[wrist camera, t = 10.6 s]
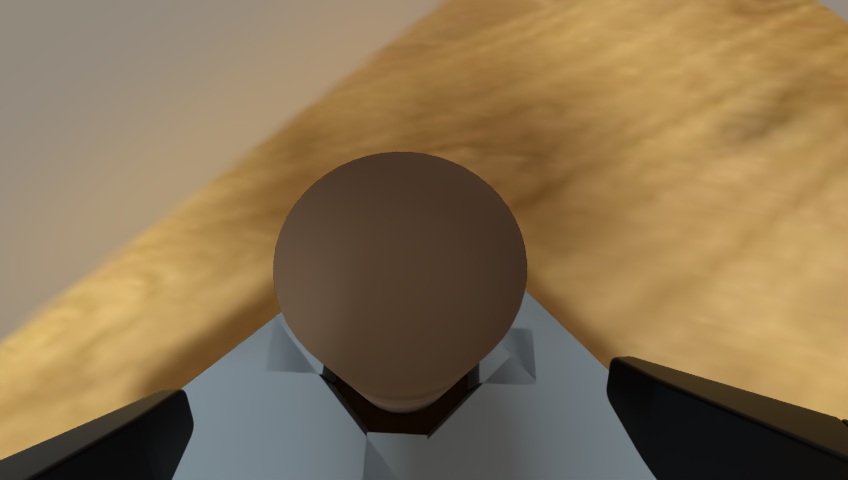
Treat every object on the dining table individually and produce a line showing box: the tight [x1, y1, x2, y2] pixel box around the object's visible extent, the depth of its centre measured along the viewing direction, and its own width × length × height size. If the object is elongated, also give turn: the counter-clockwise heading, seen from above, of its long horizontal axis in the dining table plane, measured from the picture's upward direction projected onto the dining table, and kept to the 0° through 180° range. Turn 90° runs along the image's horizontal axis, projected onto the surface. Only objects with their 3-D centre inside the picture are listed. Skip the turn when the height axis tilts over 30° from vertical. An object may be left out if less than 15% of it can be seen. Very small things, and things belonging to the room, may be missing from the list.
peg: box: [273, 152, 527, 415], centre depth 12 cm, size 4×4×12 cm
